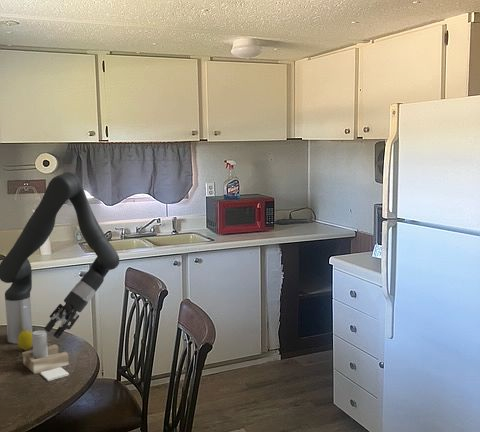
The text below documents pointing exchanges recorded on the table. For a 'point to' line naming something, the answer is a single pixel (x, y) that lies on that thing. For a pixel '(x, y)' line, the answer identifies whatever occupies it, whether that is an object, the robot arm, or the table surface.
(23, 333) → the lemon
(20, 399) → the table surface
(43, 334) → the beverage can
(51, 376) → the tile
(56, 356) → the lane rack
